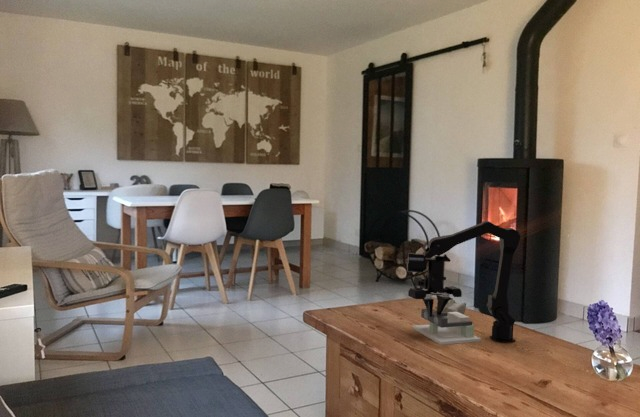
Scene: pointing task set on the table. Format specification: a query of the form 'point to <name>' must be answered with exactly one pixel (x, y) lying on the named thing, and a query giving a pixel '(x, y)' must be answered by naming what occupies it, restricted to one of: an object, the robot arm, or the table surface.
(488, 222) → the robot arm
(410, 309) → the table surface
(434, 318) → the glasses
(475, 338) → the display stand
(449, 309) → the ceramic sculpture
